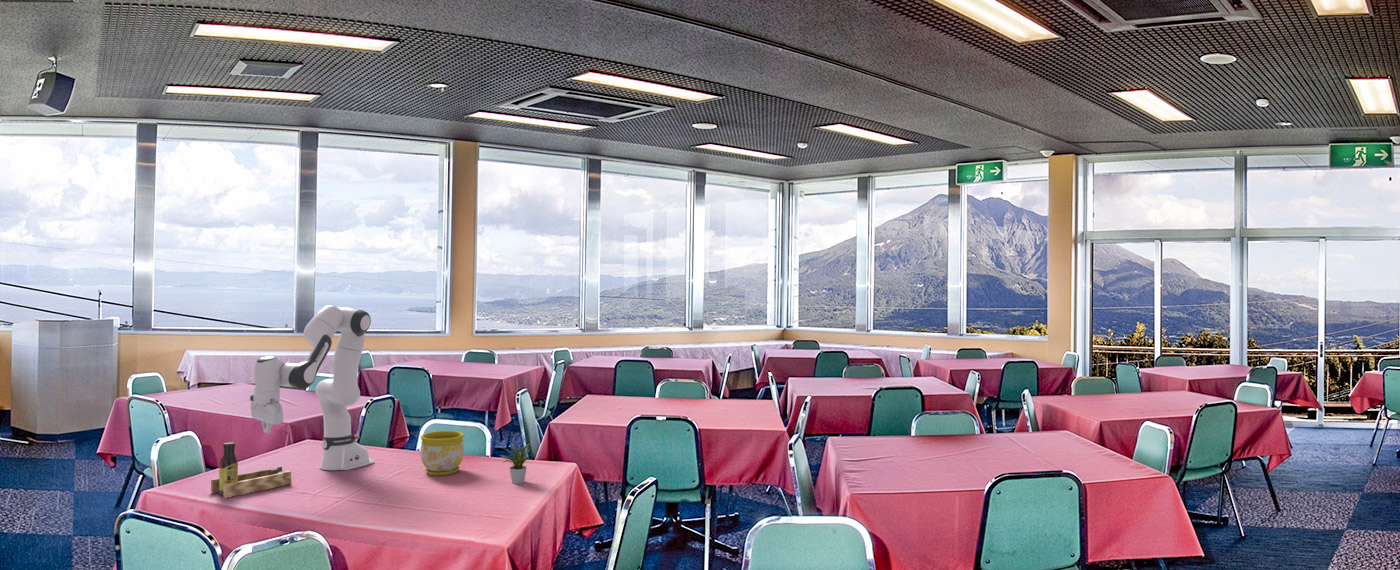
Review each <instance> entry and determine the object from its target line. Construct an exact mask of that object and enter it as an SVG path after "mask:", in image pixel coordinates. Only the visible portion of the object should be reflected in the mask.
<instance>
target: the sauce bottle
mask: <svg viewBox="0 0 1400 570" xmlns="http://www.w3.org/2000/svg"><path fill="white" fill-rule="evenodd" d="M222 446H223V456H222V457H221V458H220V460H219V469H218V470H219V473H218V475H219V477H218V478H219V493H218V494H219V495H220V494H223V484H228V483H233V482H237V481H238V474H239V473H238V472H239V469H238V468H239V467H238V466H239V463H238V460H237V457H236V454H235V447H236V442H234V441H229V442H223V444H222Z"/></svg>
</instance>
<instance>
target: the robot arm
mask: <svg viewBox="0 0 1400 570" xmlns="http://www.w3.org/2000/svg"><path fill="white" fill-rule="evenodd" d="M371 321H372V319H371V316H370V313H368V312H367V311H365V310H363V309H357V308H353V307H348V306H347V307H345V306H337V305H331V304H328V305H325V306H324V307H322V308H321V309H320V310H319V311H317V313H316V314H314V316H313V317H312V318H311V319H310V320H309V322H308V323H307V324H306V325H305V327H304V329H303V336H304V339H305V341H306V342H307V343H308V344H309V346H311V347H312V349H311V350H310V353H309V354H308V356H307V358H306V359H305V360H304V361H301V362H299V363H296V362H287V361H284V360H281V359H279V358H278V356H275V355H267V356H262V357H259V358H258V359H256V361H255V363H254V368H253V369H254V371H253V381H254V385H255V386H254V389H253V390H254V392H253V394H251V395H249V402H250V412H251V414H250V415H251V418H252V419H254V420H258V421H261V426H262V428H263V433H265V434H271V433H272V428H273V425H280V424H283V422H284V411H283V406H282V404H281V403H280V401H281V399H280V397H281V388H280V387H285V388H294V389H295V388H296V389H299V390H305V389H308V388H309V387H311V386H312V385H313V384H314V382H315V380H316V377H317V374H318V372H319V369H320V368H321V366H322V364H323V362H324V361H325V359H326V357H327V356H328V354H329V352H330V349H331V348H332V343H333V341H332V338H333V337H334V336H335V333H336V332H340V335H339V338H338V340H337V343H336V347H335V350H334V354H333V357H332V362H331V367H332V368H333V369H332V370H333V378H325V379H323V380H322V379H321V380H320V381H318V383H317V384H316V386H315V391H314V392H315V396H316V397H317V399H318V401H319V403H320V408H321V412H322V416H323V418H322V419H323V436H322V458H321V462H320V466H319V469H320V470H323V471H349V470H352V469H357V468H360V467H365V466H369V465H372V464H375V460H374V459H373V458H370V454H369V452H368V449H367V448H366V447H364V446H363V445H361V444H359V443H358V442H356V440H359V439H360V435H359V434H353V433H352V417H351V415H350V413H349V411H348V406H352V405H354V404H356V403H357V402H358V400H359V399H360V397H361V391H360V387H359V385H358V370H359V365H360V361H361V359H362V353H363V350H364V344H365V336H366V332H367V331H369V329H370V326H371Z"/></svg>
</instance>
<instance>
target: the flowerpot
mask: <svg viewBox="0 0 1400 570" xmlns="http://www.w3.org/2000/svg"><path fill="white" fill-rule="evenodd" d="M464 437H465V434H464V433H463V432H461V431H457V430H437V431H431V432H427V433H426V432H425V433H423V434H421V436H420V440H421V450H420V458H421V462H422V464H423V466H424V468H425V469H424V470H425V472H427V474H428V475H430V476H436V477H437V476H441V477H442V476H449V475H453V474H455V473H457V472H458V471H459V469H460V465H461V463H462V461H463V458H464V455H465V454H464V453H465V452H464V451H465V450H464V448H465V447H464Z"/></svg>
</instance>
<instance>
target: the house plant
mask: <svg viewBox="0 0 1400 570" xmlns="http://www.w3.org/2000/svg"><path fill="white" fill-rule="evenodd" d="M529 446H530V443H528V444H525V445H524V446H522V447H521V444H519V445H518V447H517V446H515V445H514V444H513V443H511V449H512V450H513V452H514V453H513V452H512V450H509V449H507V448H503V447H502V449H504V450H505V451H507V452H508V454H510V456H511V457H510V456H508V455H499V457H502V458H503V459H505V460H503V462H502V464H504V463H506V462H509V463H510V464H511V465H512V466H510V467H509V474H510V479H511V483H512V484H516V485H518V484H519V485H520V484H523V483H525V480H526V475H527V474H526V473H527V469H528V468H527V466H526V465H524V464H525V463H526V462H527V461H528V460H529V458H527V456H526V455H527V454H528V452H530V450H531V448H529ZM531 460H533V458H531Z"/></svg>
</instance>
